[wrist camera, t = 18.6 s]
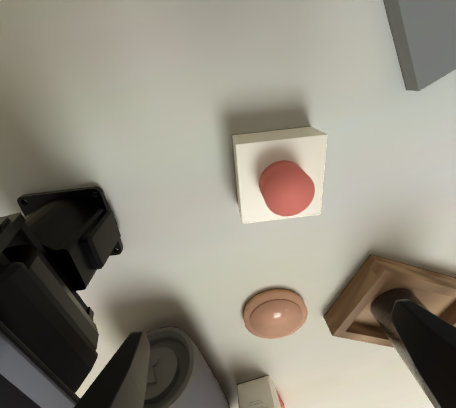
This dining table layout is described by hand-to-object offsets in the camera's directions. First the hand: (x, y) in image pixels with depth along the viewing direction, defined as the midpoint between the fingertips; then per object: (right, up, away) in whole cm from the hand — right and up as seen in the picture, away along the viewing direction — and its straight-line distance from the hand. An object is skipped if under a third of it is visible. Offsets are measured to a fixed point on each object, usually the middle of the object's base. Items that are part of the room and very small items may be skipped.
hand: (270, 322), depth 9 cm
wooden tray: (+18, -7, +19) cm, 27 cm away
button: (+2, +6, +9) cm, 10 cm away
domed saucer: (+4, -8, +19) cm, 21 cm away
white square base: (+2, +7, +11) cm, 13 cm away
